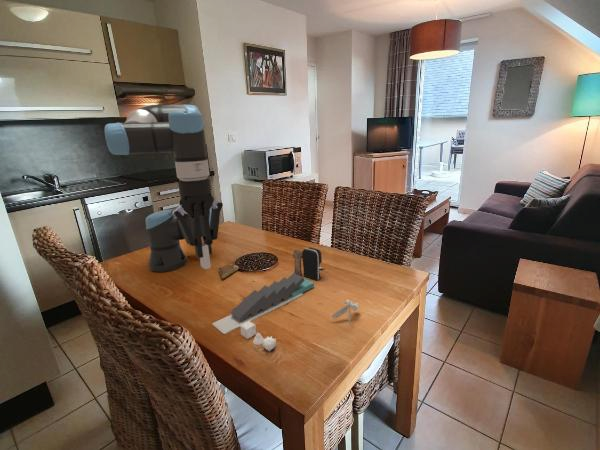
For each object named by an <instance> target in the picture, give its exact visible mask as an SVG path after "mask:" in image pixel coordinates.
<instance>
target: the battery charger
mask: <svg viewBox="0 0 600 450" xmlns="http://www.w3.org/2000/svg"><path fill="white" fill-rule="evenodd" d="M302 252H303V258H302V267H303V276H304V277H306V278H309V279H310V280H313V281H318V280H319V279H321V273H320V270H319V268H320V267H321V266H320V265H321V263H322V262H323V260H322V259H323V258H322V251H321V250H320V249H319V248H314V247H307V248H303V251H302Z"/></svg>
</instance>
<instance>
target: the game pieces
mask: <svg viewBox="0 0 600 450" xmlns="http://www.w3.org/2000/svg"><path fill="white" fill-rule="evenodd" d="M256 327H257V326H256V323H254V322H253V321H247V322H246V323H244V324H243V325H242V324H241V326H240V327H239V328H240V335H241V336H242V337H244V338H246V339H247V340H248V339H250V338H252V337H253V336H255V337H254V338H253V344H254V345H256V346H257V345H262V348H264V349H266V350H267V351H268V352H271V351H272V350H273V349H275V347H276V346H277V338H273V335H271V336H268V335H267V336H266V337H265V338H264V337H263V336H262V334H261V333H260V332H257V330H256Z"/></svg>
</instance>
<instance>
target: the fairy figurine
mask: <svg viewBox="0 0 600 450" xmlns="http://www.w3.org/2000/svg"><path fill="white" fill-rule="evenodd" d="M359 308H360V306H359V302H357V303H355V302H353V300H350V299H346V301H345V306H344V307H342V308H341V309H339V310H338V311H336V312H334V314H332V315H331V318H337V317H341V316H343V315H344V314H346V312H347V310H348V325H351V319H352V316H351V315H352V313H351V309H352V310H353V311H358V310H359Z"/></svg>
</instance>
